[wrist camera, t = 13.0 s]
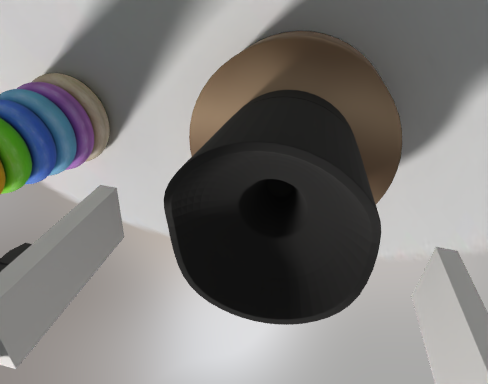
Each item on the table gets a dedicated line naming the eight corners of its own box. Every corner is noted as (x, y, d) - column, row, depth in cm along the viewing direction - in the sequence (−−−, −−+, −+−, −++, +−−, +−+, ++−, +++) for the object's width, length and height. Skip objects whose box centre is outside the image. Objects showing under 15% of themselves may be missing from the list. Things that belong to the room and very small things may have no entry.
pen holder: (196, 156, 24) (124, 242, 16) (279, 46, 19) (241, 85, 11) (294, 233, 26) (276, 349, 17) (395, 148, 21) (440, 253, 12)
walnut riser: (212, 21, 24) (188, 27, 20) (417, 42, 22) (438, 54, 18) (209, 187, 31) (190, 218, 27) (362, 215, 29) (367, 252, 25)
